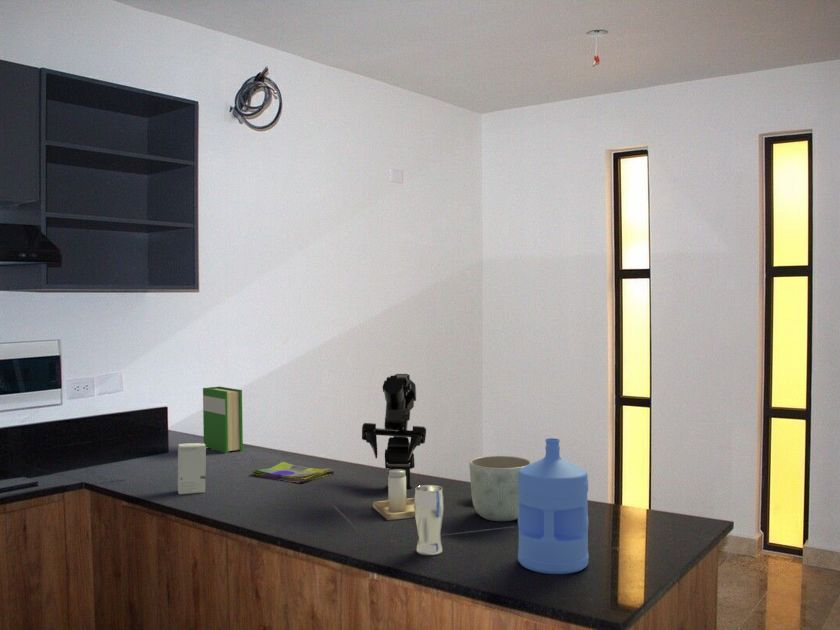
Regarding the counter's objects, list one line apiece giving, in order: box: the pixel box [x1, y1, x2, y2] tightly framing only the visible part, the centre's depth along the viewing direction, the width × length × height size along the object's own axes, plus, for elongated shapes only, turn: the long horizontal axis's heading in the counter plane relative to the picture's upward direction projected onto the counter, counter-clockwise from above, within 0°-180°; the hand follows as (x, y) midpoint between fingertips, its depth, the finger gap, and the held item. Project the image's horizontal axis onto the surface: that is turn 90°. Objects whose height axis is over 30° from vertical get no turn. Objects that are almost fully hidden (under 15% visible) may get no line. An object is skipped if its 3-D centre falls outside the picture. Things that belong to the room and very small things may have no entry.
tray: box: [372, 497, 415, 521], centre depth 223 cm, size 14×14×2 cm
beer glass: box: [414, 484, 445, 556], centre depth 190 cm, size 7×7×15 cm
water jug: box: [517, 437, 590, 575], centre depth 180 cm, size 16×16×28 cm
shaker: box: [387, 469, 407, 513], centre depth 224 cm, size 5×5×11 cm
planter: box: [468, 455, 533, 522], centre depth 218 cm, size 17×17×15 cm
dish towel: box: [250, 461, 335, 484], centre depth 272 cm, size 18×24×3 cm
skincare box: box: [177, 442, 207, 495], centre depth 250 cm, size 8×6×15 cm
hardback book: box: [202, 386, 244, 454], centre depth 318 cm, size 18×7×24 cm, turn 43°
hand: (392, 458), depth 231 cm, fingers open, 9 cm apart
